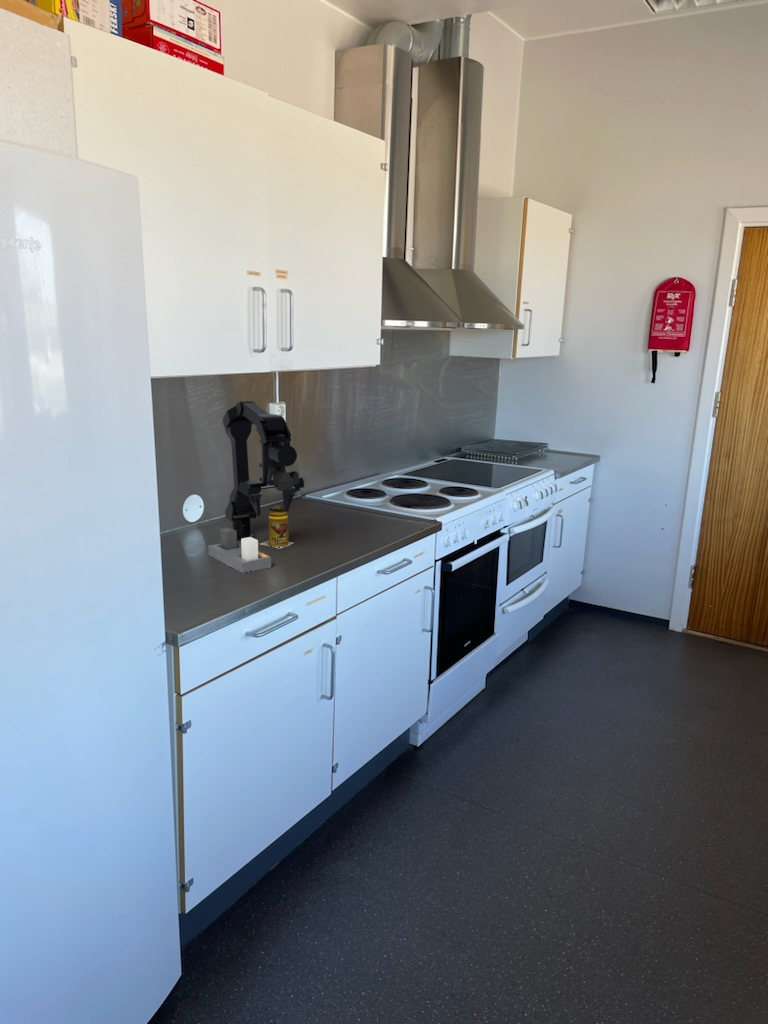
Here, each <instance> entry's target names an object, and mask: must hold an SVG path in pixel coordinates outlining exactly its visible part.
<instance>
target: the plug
mask: <svg viewBox="0 0 768 1024" xmlns="http://www.w3.org/2000/svg"><path fill="white" fill-rule="evenodd" d="M240 543H241V551H242V558H243V559H245V560H247V561H249V560H254V559H258V551H259V540H258V539H256V538H255V537H253V538H252V537H248V538H242V539H241V540H240Z"/></svg>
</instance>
